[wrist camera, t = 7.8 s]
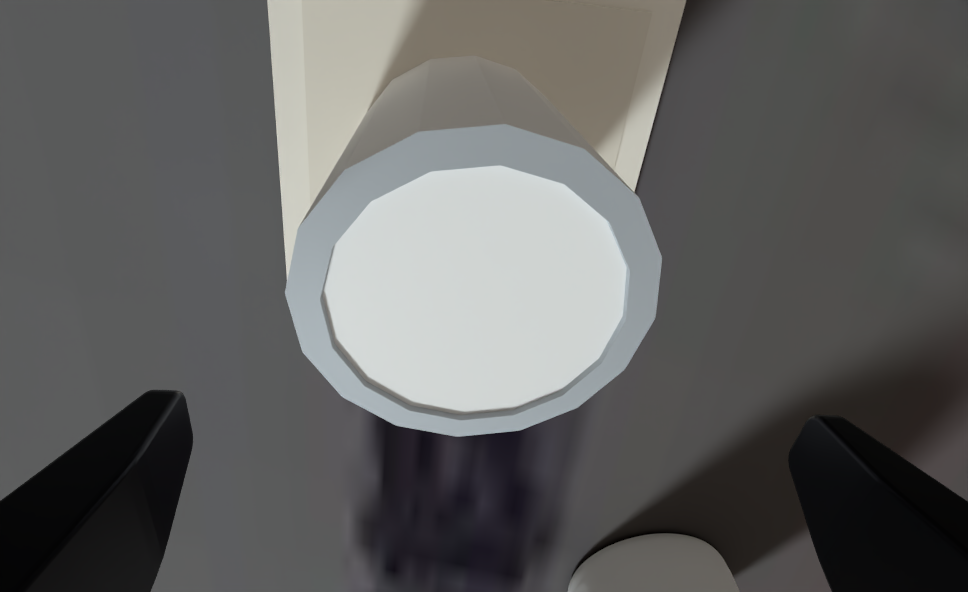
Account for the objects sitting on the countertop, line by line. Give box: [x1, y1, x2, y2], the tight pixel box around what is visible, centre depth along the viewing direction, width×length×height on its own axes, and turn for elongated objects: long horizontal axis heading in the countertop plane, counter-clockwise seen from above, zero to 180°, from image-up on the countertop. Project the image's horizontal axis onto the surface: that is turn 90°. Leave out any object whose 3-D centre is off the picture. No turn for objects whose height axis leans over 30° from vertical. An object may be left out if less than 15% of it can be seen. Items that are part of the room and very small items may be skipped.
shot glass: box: [285, 55, 662, 437], centre depth 14 cm, size 7×7×7 cm
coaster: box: [268, 0, 686, 280], centre depth 17 cm, size 10×10×1 cm
